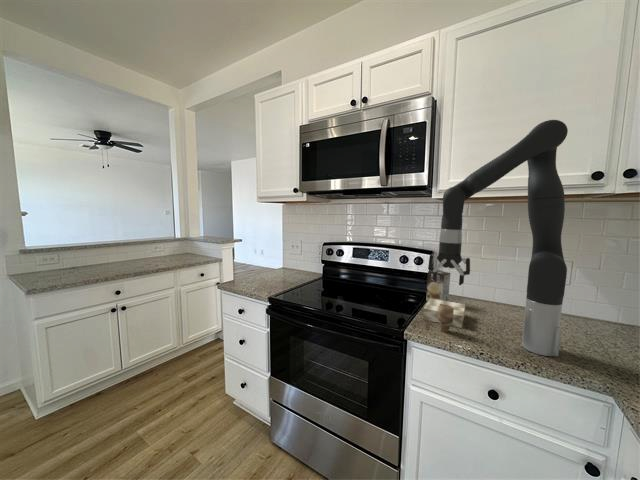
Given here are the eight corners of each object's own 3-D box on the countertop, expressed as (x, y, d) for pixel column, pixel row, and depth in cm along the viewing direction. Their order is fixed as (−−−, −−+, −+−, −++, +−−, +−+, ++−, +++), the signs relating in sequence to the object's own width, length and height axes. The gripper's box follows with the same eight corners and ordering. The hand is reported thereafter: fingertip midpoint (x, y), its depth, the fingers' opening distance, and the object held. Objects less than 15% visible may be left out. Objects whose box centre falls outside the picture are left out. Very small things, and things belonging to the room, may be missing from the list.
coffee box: (425, 300, 138) (427, 270, 136) (432, 298, 142) (434, 269, 140) (441, 305, 131) (444, 274, 129) (448, 303, 134) (450, 272, 132)
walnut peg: (452, 330, 103) (454, 307, 102) (451, 335, 99) (452, 311, 98) (438, 326, 106) (439, 304, 105) (435, 332, 102) (437, 308, 101)
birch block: (464, 315, 119) (465, 304, 118) (461, 328, 105) (462, 316, 105) (429, 308, 127) (430, 298, 126) (422, 319, 114) (423, 308, 113)
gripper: (472, 241, 98) (469, 283, 100) (432, 239, 106) (429, 278, 107) (471, 243, 92) (468, 288, 94) (428, 240, 99) (426, 282, 101)
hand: (447, 283), depth 100 cm, fingers open, 8 cm apart
